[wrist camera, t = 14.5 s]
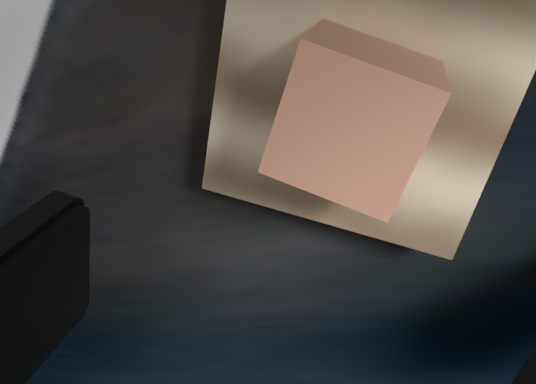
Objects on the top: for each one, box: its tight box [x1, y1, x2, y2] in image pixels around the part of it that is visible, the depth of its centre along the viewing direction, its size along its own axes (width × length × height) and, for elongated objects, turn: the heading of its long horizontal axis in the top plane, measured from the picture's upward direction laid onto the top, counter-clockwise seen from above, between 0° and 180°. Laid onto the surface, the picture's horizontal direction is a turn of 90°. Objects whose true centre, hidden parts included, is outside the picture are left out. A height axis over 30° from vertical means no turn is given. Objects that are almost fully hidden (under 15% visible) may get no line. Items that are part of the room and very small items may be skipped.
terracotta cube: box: [258, 19, 452, 223], centre depth 23 cm, size 6×6×6 cm
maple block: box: [202, 0, 536, 260], centre depth 27 cm, size 15×15×4 cm
